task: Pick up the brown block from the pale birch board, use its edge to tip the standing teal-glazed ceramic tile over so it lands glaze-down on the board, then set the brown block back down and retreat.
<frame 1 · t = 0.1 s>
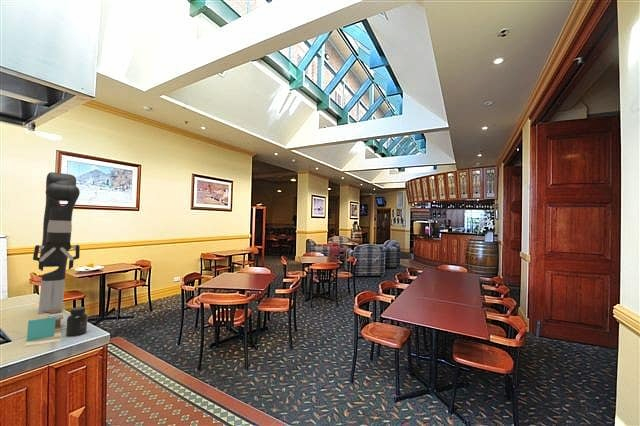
hand: (55, 269, 118), 29 cm above the counter, fingers open, 8 cm apart
tile: (40, 338, 116), point 1 cm above the counter, touching board
board: (44, 336, 120), on the counter
brown block: (54, 325, 128), point 1 cm above the counter, touching board
supplement bottle: (75, 336, 122), on the counter
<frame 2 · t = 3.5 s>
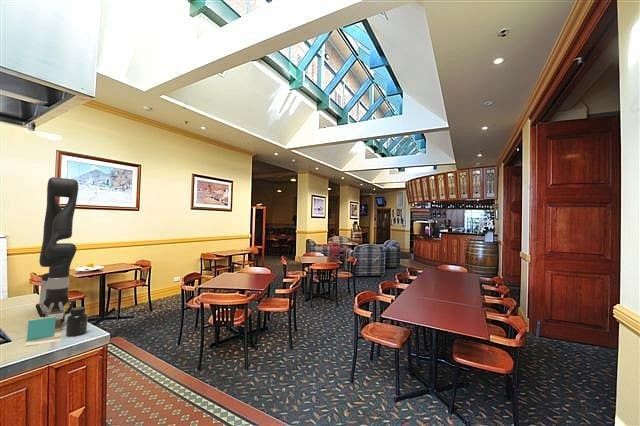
hand: (54, 324, 128), 2 cm above the counter, fingers closed on brown block, 4 cm apart
brown block: (54, 325, 128), point 1 cm above the counter, touching board, gripper
everything else where it was.
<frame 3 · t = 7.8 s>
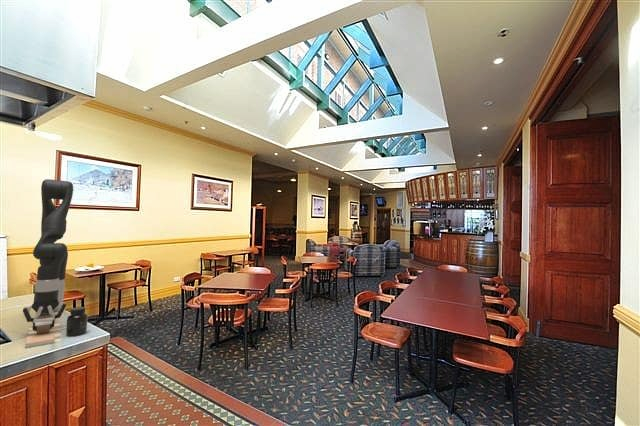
hand: (43, 329, 121), 3 cm above the counter, fingers closed on brown block, 4 cm apart
tile: (40, 336, 115), point 2 cm above the counter, tilted 90°, touching board
brown block: (43, 331, 121), point 2 cm above the counter, touching gripper
everything else where it was.
when the fingers open (2 cm above the counter, at t = 10.4 s): brown block stays where it is, resting on board.
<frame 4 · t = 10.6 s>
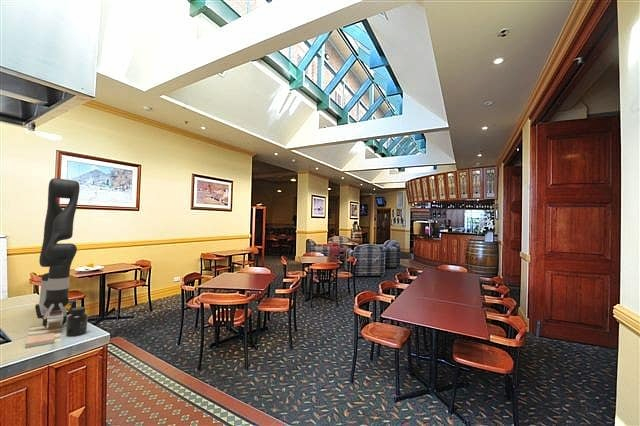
hand: (54, 325, 126), 2 cm above the counter, fingers open, 5 cm apart
brown block: (54, 327, 126), point 1 cm above the counter, touching board
everything else where it was.
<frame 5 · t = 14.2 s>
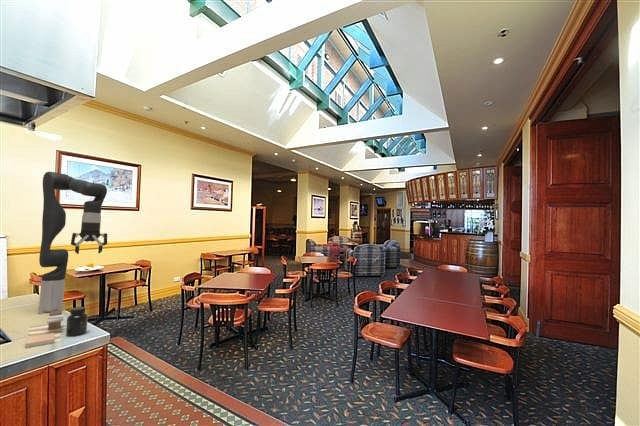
hand: (88, 253, 143), 33 cm above the counter, fingers open, 8 cm apart
nothing on the counter moved.
at the end: tile tilted 90°; tile inside the target area (6.2 cm from its centre), point 2.0 cm above the counter; the gripper is holding nothing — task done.
